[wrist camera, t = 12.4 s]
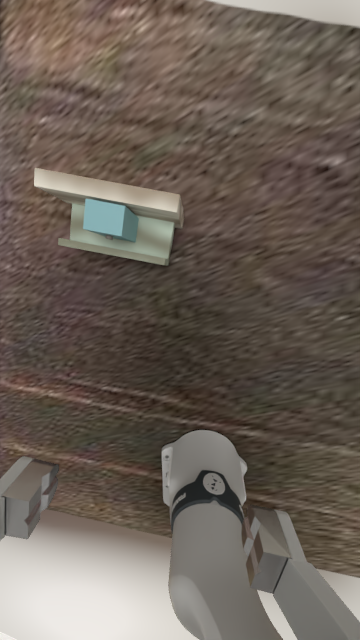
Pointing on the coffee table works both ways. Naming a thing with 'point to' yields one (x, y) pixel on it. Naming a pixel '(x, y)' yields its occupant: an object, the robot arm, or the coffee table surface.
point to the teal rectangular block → (110, 220)
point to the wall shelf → (148, 205)
